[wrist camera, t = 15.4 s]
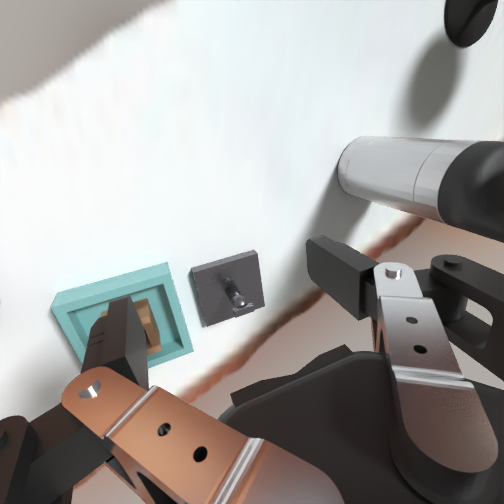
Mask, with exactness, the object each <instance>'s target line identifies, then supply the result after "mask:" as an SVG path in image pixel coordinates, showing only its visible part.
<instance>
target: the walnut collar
mask: <svg viewBox="0 0 504 504" xmlns="http://www.w3.org/2000/svg"><path fill="white" fill-rule="evenodd" d="M133 303H134V306H135V308H136V310H137V313H138V315H139V318H140V320H141V322H142V325H143V326H144V328H145V330H144V331H145V335H146V343H147V356H148V355H151V354H153V353H156V352H159V351H162V348H161V341H160V334H159V329H158V326H157V323H156V321H155V318H154V315H153V312H152V310H151V307H150V304H149V301H148V299H147V298H145V299H142V300H139V301H135V302H133ZM107 312H108V310H106V311H103V312H102V313H101V317H103V316H106V315H107Z"/></svg>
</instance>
